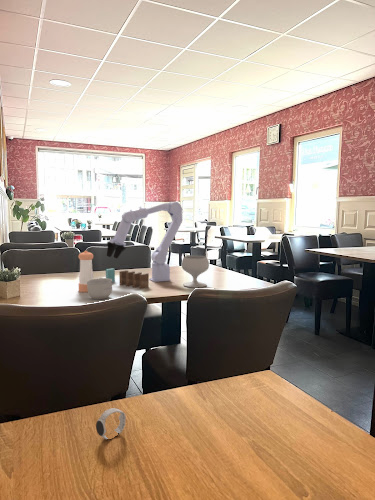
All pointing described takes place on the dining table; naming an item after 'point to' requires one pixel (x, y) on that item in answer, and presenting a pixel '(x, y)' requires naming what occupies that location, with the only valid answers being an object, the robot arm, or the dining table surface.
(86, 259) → the salt shaker
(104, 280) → the teacup
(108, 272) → the domino
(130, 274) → the brown wooden block
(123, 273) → the domino
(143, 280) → the domino
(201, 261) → the chalice
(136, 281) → the domino
